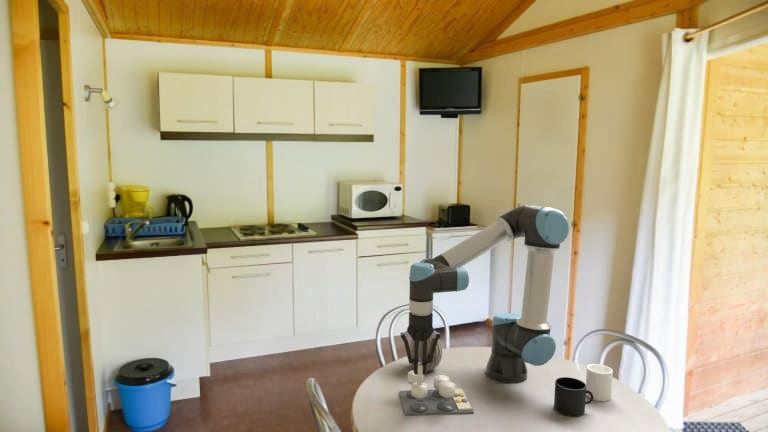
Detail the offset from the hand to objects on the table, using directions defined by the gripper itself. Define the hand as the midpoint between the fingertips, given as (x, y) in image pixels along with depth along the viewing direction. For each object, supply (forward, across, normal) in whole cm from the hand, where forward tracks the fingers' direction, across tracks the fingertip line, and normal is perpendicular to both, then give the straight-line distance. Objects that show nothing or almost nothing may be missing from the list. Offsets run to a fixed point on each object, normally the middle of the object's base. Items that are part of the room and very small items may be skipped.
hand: (419, 383), depth 162 cm
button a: (+8, -9, -9) cm, 15 cm away
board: (+9, -6, -4) cm, 12 cm away
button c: (+6, 0, -9) cm, 11 cm away
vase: (+9, -7, -32) cm, 34 cm away
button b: (+6, -9, 0) cm, 11 cm away
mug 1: (+9, -50, +4) cm, 51 cm away
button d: (+6, 0, 0) cm, 6 cm away
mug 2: (+9, -63, -8) cm, 64 cm away
